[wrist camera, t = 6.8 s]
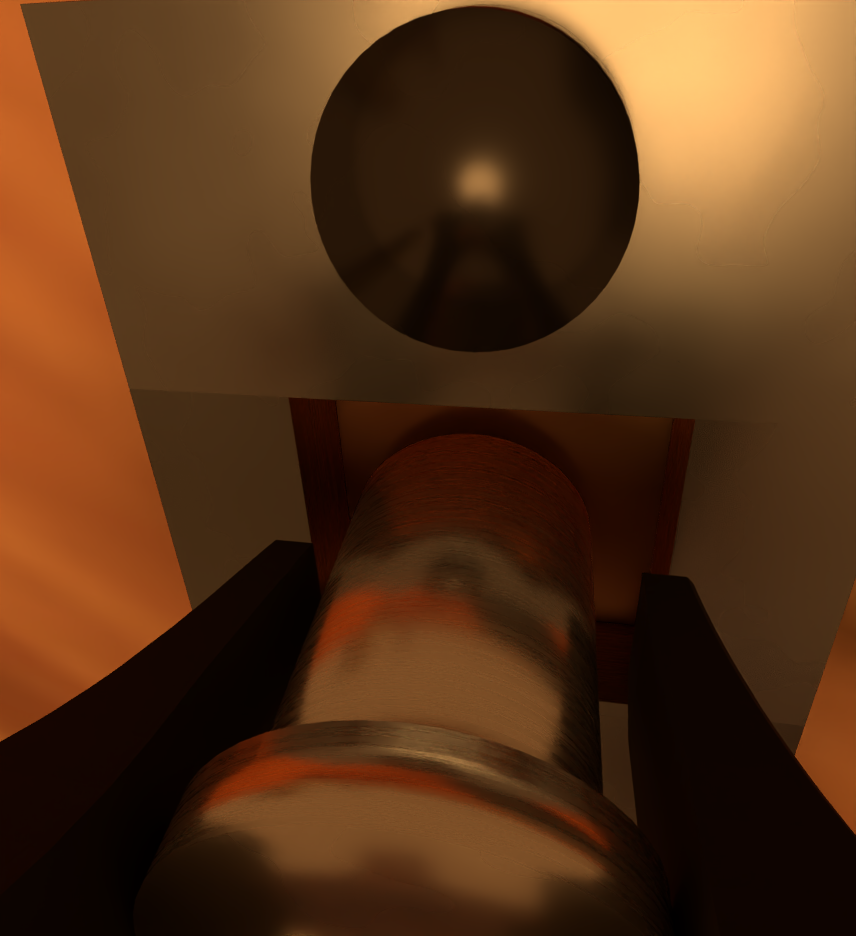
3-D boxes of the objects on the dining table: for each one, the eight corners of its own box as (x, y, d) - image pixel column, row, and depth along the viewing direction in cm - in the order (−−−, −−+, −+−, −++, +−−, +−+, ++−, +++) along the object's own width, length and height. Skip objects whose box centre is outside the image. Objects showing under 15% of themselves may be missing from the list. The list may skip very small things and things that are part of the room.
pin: (611, 655, 14) (644, 1137, 8) (338, 631, 15) (192, 1056, 9) (647, 407, 11) (735, 873, 5) (306, 392, 12) (65, 790, 6)
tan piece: (734, 800, 17) (756, 938, 15) (278, 737, 19) (231, 849, 17) (982, -44, 9) (1132, -51, 6) (109, -2, 11) (-38, 6, 8)
